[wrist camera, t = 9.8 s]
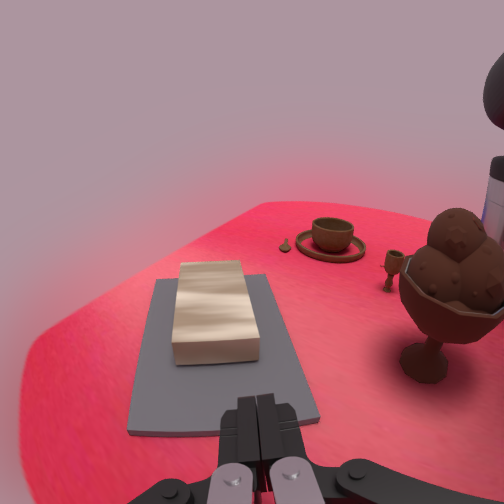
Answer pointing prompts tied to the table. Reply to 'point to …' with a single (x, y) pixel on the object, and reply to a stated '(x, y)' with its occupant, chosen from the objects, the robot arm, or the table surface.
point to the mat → (212, 372)
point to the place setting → (342, 245)
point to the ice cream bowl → (451, 291)
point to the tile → (213, 315)
